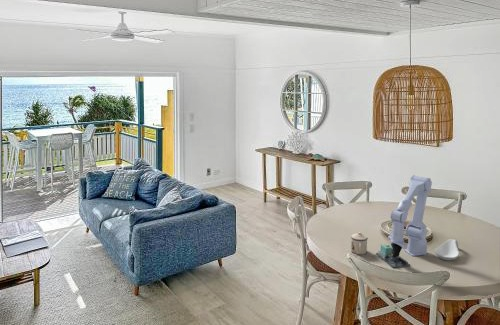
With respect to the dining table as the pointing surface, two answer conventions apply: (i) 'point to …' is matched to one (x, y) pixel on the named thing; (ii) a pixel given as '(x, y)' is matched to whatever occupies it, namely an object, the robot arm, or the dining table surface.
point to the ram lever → (392, 256)
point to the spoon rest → (448, 250)
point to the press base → (392, 263)
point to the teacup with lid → (359, 243)
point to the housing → (386, 249)
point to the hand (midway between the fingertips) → (396, 256)
